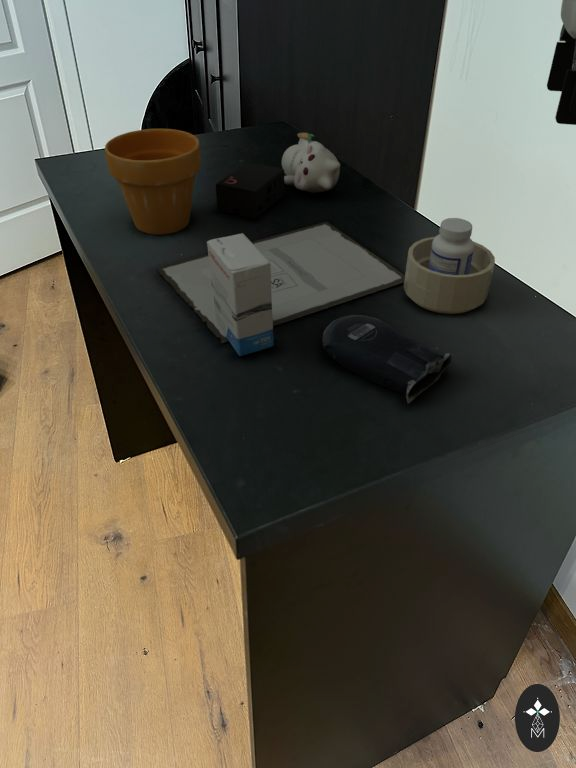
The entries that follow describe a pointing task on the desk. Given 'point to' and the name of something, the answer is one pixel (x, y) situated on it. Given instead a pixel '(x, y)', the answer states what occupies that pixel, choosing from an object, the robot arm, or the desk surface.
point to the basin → (447, 280)
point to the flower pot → (156, 176)
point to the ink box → (241, 293)
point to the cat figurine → (310, 166)
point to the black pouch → (383, 354)
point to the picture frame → (293, 274)
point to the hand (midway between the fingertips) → (569, 106)
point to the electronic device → (250, 190)
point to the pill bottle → (452, 248)
